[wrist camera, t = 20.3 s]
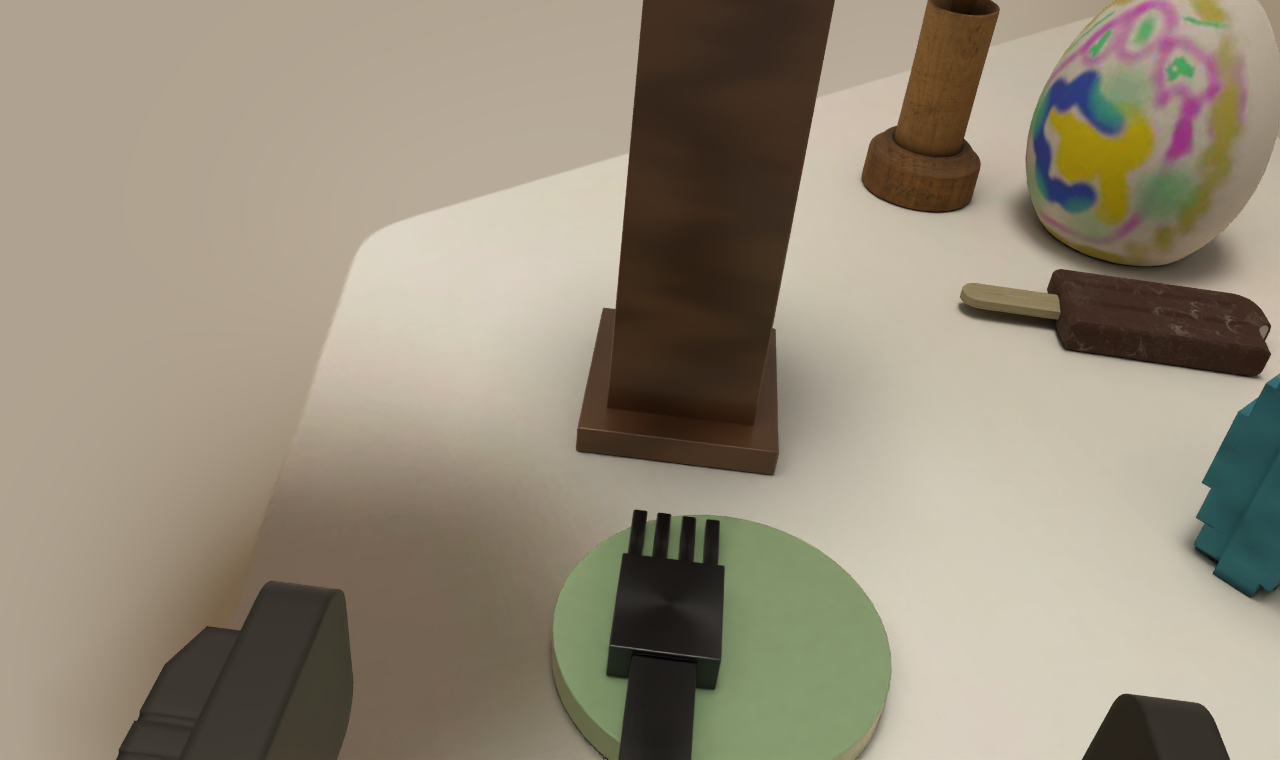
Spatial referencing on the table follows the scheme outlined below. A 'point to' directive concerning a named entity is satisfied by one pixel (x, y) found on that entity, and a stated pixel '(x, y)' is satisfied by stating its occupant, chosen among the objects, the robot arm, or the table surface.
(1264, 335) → the ice cream bar
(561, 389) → the table surface
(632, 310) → the stand
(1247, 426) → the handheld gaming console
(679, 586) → the fork
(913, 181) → the mortar and pestle
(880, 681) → the plate
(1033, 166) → the decorative egg
